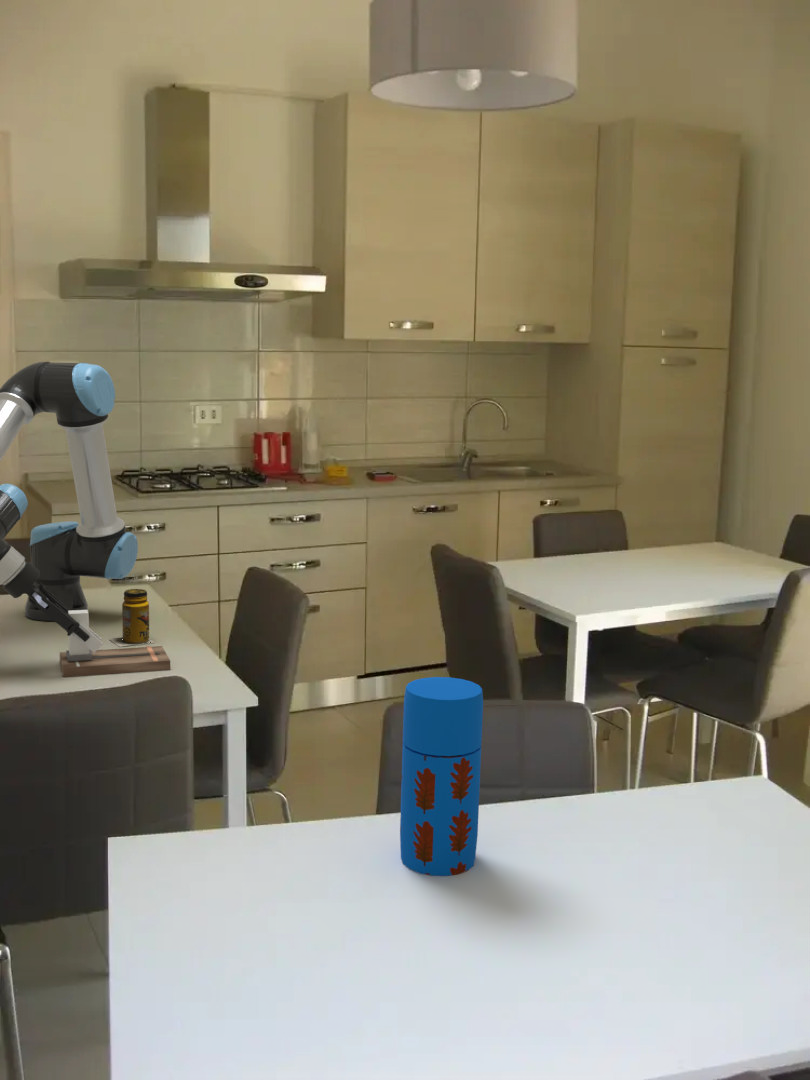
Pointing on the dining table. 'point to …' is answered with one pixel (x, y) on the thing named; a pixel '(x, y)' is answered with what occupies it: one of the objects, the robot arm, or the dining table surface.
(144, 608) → the condiment
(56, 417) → the robot arm
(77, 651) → the fader tab
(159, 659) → the fader track
